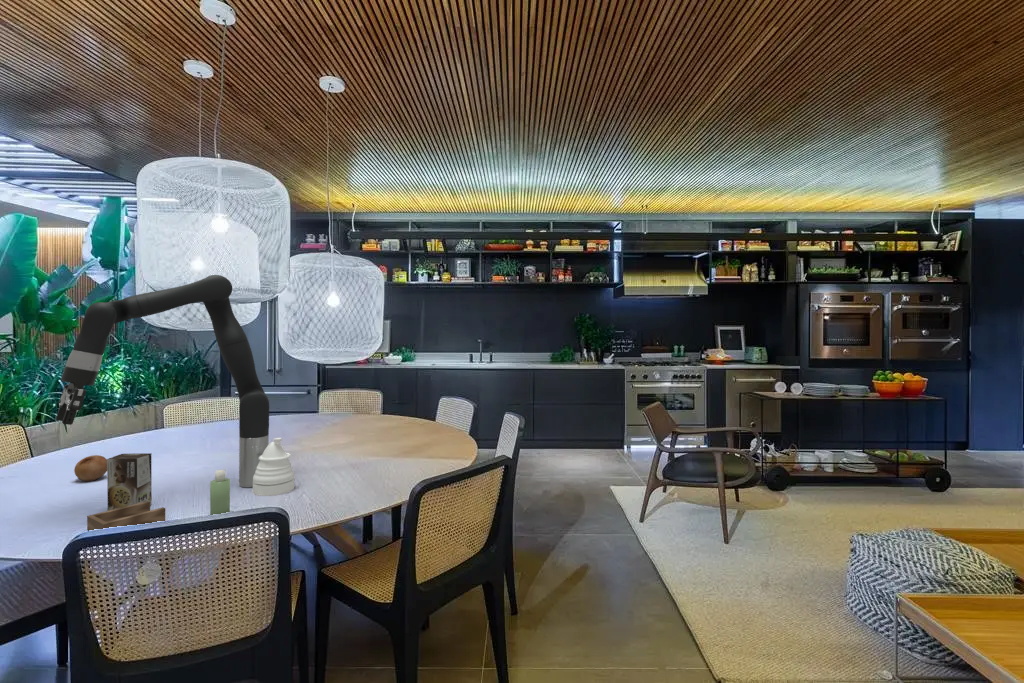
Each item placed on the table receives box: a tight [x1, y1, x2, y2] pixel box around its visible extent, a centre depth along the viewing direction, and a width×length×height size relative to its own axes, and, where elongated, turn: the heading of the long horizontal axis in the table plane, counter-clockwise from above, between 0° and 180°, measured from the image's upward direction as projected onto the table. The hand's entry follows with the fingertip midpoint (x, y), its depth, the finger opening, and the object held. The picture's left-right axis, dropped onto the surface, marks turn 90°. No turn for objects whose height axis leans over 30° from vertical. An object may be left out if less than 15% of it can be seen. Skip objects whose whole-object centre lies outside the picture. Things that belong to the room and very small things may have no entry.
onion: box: [73, 454, 108, 482], centre depth 174 cm, size 10×9×10 cm
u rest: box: [86, 501, 166, 531], centre depth 132 cm, size 14×11×4 cm
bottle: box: [209, 469, 231, 516], centre depth 142 cm, size 5×5×13 cm
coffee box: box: [106, 452, 153, 511], centre depth 146 cm, size 9×6×16 cm
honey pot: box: [252, 437, 295, 497], centre depth 165 cm, size 13×13×18 cm
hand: (63, 422), depth 139 cm, fingers open, 8 cm apart
